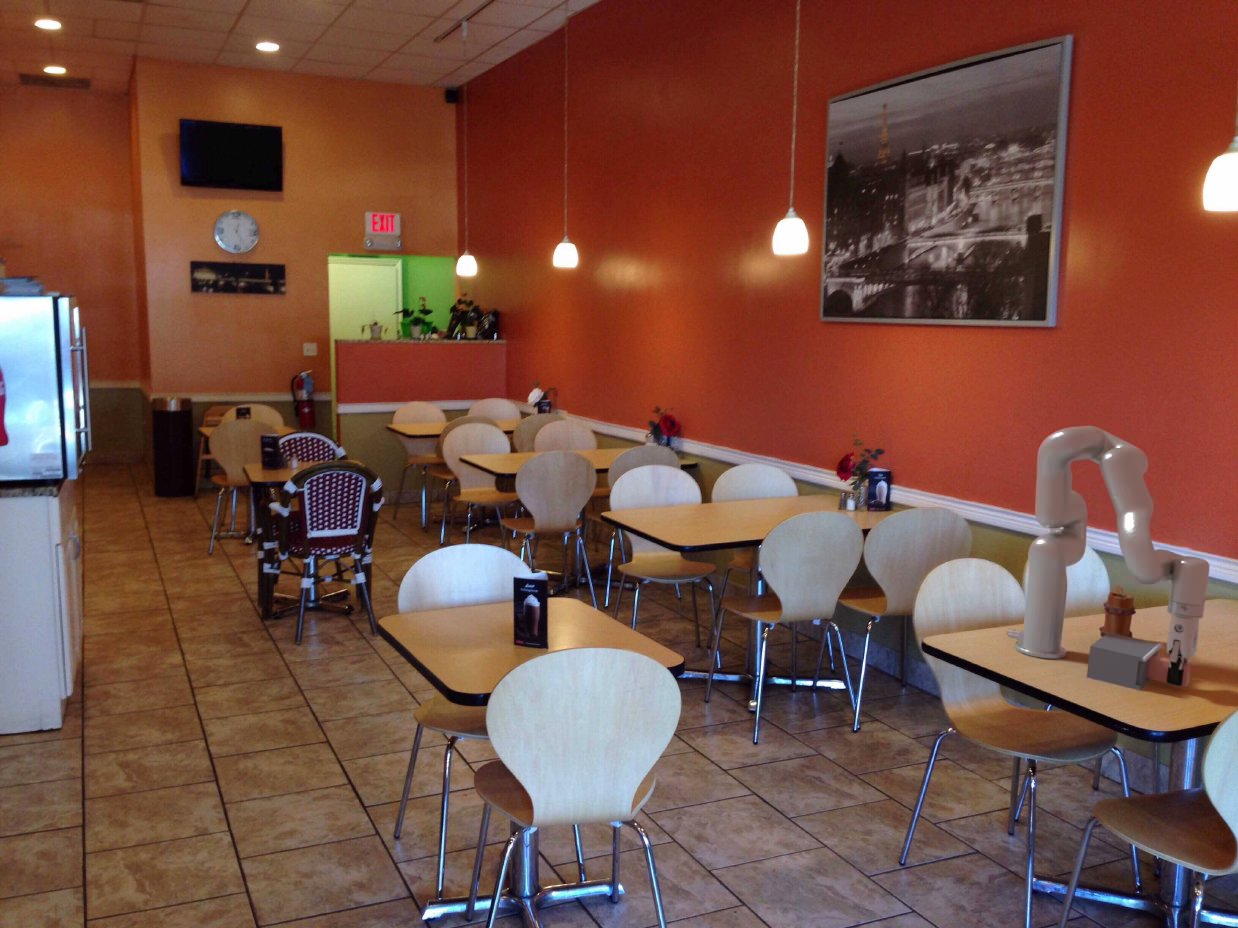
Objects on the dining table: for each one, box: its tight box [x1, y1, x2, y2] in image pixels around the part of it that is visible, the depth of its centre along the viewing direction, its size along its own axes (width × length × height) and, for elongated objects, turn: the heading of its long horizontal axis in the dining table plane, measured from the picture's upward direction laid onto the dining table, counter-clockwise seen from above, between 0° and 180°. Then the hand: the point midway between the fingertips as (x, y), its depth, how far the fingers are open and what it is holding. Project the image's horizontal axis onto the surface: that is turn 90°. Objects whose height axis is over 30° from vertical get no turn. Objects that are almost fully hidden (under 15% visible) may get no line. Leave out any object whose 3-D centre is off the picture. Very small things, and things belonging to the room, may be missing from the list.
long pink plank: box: [1147, 655, 1192, 688], centre depth 253 cm, size 18×3×5 cm, turn 50°
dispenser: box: [1086, 632, 1164, 691], centre depth 257 cm, size 13×16×8 cm
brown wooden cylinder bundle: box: [1098, 585, 1137, 638], centre depth 283 cm, size 15×8×15 cm, turn 160°
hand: (1175, 681), depth 250 cm, fingers closed on long pink plank, 3 cm apart
